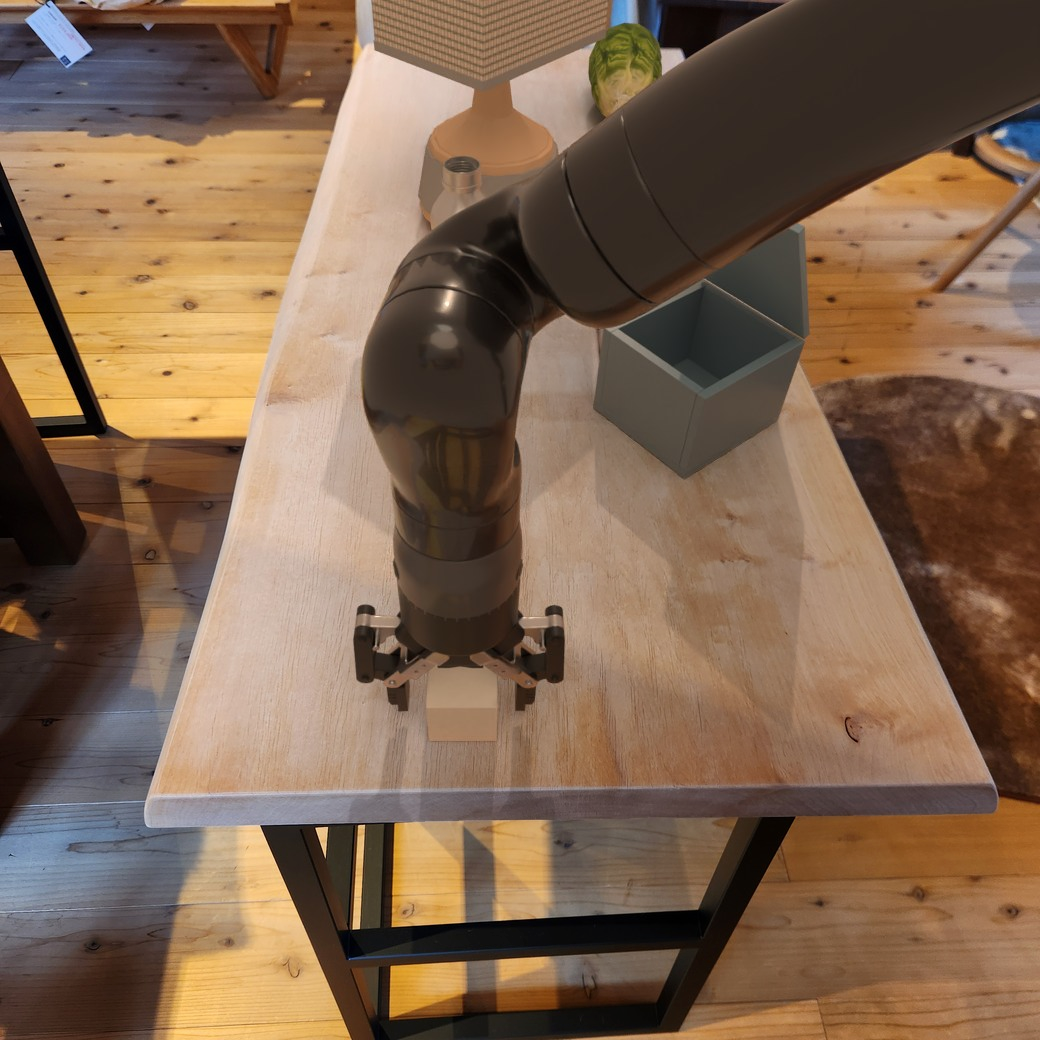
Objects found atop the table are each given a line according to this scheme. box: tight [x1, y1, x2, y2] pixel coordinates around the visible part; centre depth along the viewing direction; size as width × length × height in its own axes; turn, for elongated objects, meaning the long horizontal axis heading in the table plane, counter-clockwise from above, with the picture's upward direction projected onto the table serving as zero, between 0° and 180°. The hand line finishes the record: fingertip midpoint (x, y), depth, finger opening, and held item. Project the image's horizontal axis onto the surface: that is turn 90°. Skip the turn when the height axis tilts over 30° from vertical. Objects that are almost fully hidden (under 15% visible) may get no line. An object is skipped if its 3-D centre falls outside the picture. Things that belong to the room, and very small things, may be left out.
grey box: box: [592, 279, 806, 480], centre depth 84 cm, size 14×13×10 cm
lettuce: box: [587, 22, 663, 118], centre depth 131 cm, size 12×21×11 cm, turn 176°
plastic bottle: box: [429, 156, 486, 231], centre depth 87 cm, size 6×7×20 cm
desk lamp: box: [370, 0, 609, 222], centre depth 99 cm, size 22×19×37 cm
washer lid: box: [704, 222, 811, 340], centre depth 77 cm, size 15×13×5 cm
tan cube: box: [425, 665, 499, 742], centre depth 62 cm, size 5×5×5 cm
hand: (461, 700), depth 63 cm, fingers open, 8 cm apart
